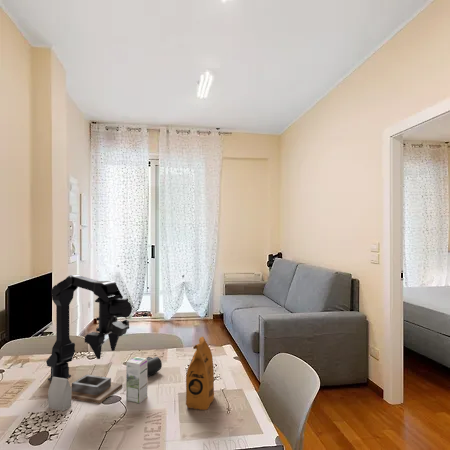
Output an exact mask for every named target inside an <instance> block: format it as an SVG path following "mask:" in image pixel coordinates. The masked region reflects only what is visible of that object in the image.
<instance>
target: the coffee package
mask: <svg viewBox="0 0 450 450" xmlns="http://www.w3.org/2000/svg"><path fill="white" fill-rule="evenodd" d="M192 349H193V350H195V352H194V354H193V355H192V358H191V360H190V362H189V365H188V368H187V371H186V376H185V388H186V389H185V393H186V394H185V395H186V396H185V405H186V407H187V408H188V409H194V410H199V411H202V410H203V411H207V410H209V408H210V405H211V404H212V403H213V401H214V398H215V388H214V386H215V384H214V382H215V370H214V359H213V353H212V351H211V348H210V346H209V345H208V342H207V341H206V339H205V337H204V336H201V337H199V339H198V343H197V344H195V345H194V346H193V347H192Z"/></svg>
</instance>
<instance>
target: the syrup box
mask: <svg viewBox="0 0 450 450" xmlns="http://www.w3.org/2000/svg"><path fill="white" fill-rule="evenodd" d="M125 364H126V367H125V368H126V369H125V370H126V374H125V375H126V379H125V380H126V383H125V384H126V388H125V389H126V390H125V391H126V394H125V395H126V397H125V398H126V402H131V403H136V404H140V403H142V402H143V401H145V400H146V399H147V398H148V377H147V357H138V356H134V357H132V358H129V359H128V360H127V361H126V362H125Z"/></svg>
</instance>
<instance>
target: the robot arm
mask: <svg viewBox="0 0 450 450" xmlns="http://www.w3.org/2000/svg"><path fill="white" fill-rule="evenodd" d="M78 288H81V289H84V290H87V291H90V292H92V293H93V294H94V296H96V297H97V298H96V299H95V300H94V302H95V303H98V317H96V321H98V327H97V328H96V331H92V332H90V333H89V332H88V333H87V334H86V335H85V336H84V343H86V344H88V345H89V346H90V348H91V350H92V352H93V354H94V356H95V357H96V359H97V360H100V359H101V356H102V348H103V347H102V346H103V345H104V343H105V339H106V338H105V336H107V335H108V336H107V337H108V341H109V346H110V349H111V351H112V352H114V351H115V349H116V347H117V343H118V341H119V338H120V337H122V336H123V335H126V333H127V331H128V330H129V329H130V321H129V319H123V320H118V318H119V317H120V318H128V317H130V316H131V314H132V312H133V311H132V310H133V307H132V304H131V302H129V298H124V297H123V294H122V292H121V290H120V289H119V287H118V285H117V282H116V281H114V280H113V281H112V280H96V279H93V278H90V277H86V276H83V275H80V274H70V275H68V276H66V278H65V279H63V280H61V281H60V282H58V283H56V284H55V285H53V286H52V287H51V292H50V293H51V299H52V301H53V303H54V305H55V306H56V307H55V308H56V309H55V310H56V313H55V315H56V317H55V318H56V321H55V322H56V323H55V326H56V329H55V331H56V336H55V337H56V338H55V339H56V340H55V342H54V344H53V346H52V347H51V355H50V356H49V357H48V358H47V359H46V366H47V367H49V368H50V377H49V378H47V381H52V377H58V378H64V379H68V378H70V377H72V375H71V374H70V367H69V362H72V361H73V358H74V356H75V352H76V350H75V349H76V347H75V346H76V343H75V342H72V340H71V339H70V304H71V302H72V301H73V299H74V294H75V292H76V290H77V289H78Z"/></svg>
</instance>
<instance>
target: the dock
mask: <svg viewBox="0 0 450 450" xmlns="http://www.w3.org/2000/svg"><path fill="white" fill-rule="evenodd" d="M70 387H71V389H72V391H71V400H77V401H83V402H88V403H95V404H101V403H102V402H104V401H105V400H106V398H107V399H108V398H109V397H110V396H112V395H114V392H115V393H116V392H118V391H119V390H120V389H121V387H122V388H123V383H118V382H112V378H111V377H106V376H100V375H93V374H85V375H83V376H81V377H80V378H78V379H76V380H75V381H73V382H71V385H70ZM118 389H119V390H118Z"/></svg>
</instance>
